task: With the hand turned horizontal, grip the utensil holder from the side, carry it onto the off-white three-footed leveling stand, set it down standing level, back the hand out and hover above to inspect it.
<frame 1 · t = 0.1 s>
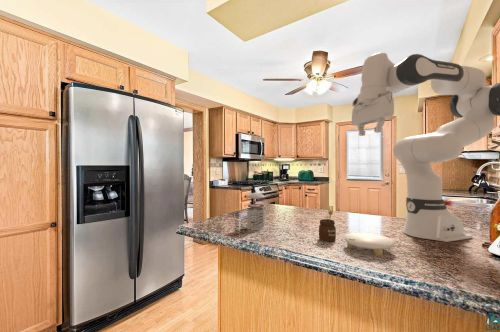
hand: (369, 134, 91), 39 cm above the countertop, fingers open, 8 cm apart
leveling stand: (368, 249, 78), on the countertop
utensil holder: (327, 240, 89), on the countertop
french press: (257, 227, 107), on the countertop
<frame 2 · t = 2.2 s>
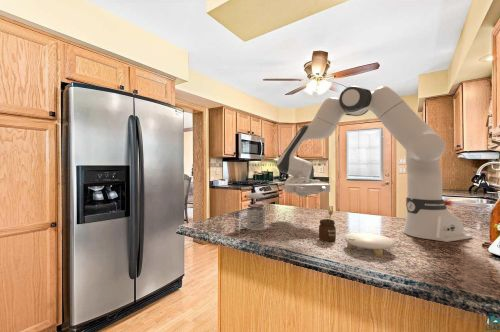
hand: (313, 189, 101), 17 cm above the countertop, fingers open, 8 cm apart
nothing on the countertop moved.
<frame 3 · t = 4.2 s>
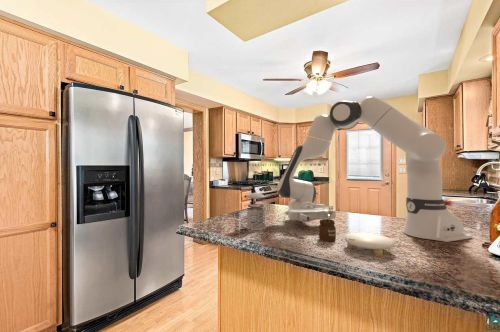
hand: (318, 217, 96), 6 cm above the countertop, fingers open, 8 cm apart
nothing on the countertop moved.
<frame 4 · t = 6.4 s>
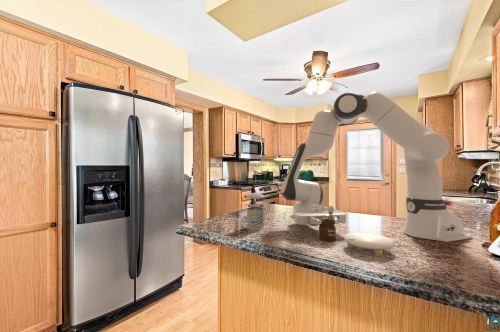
hand: (328, 222, 88), 7 cm above the countertop, fingers closed on utensil holder, 5 cm apart
utensil holder: (327, 240, 89), on the countertop, touching gripper
everything else where it was.
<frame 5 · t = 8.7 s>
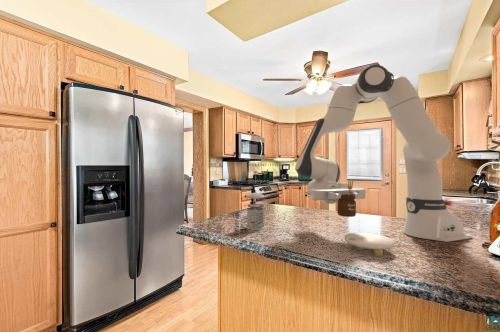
hand: (348, 196, 83), 17 cm above the countertop, fingers closed on utensil holder, 5 cm apart
utensil holder: (346, 215, 84), point 10 cm above the countertop, touching gripper
everything else where it was.
when the fingers open (11 cm above the countertop, at t = 11.0 s): utensil holder drops 1 cm, resting on leveling stand.
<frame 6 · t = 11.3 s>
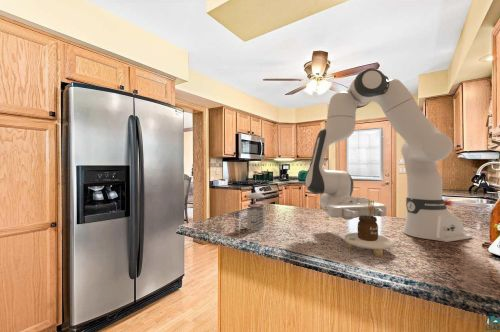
hand: (369, 214, 77), 11 cm above the countertop, fingers open, 8 cm apart
utensil holder: (367, 239, 78), point 3 cm above the countertop, touching leveling stand
everything else where it was.
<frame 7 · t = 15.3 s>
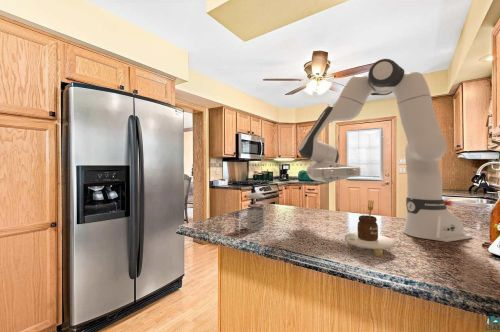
hand: (344, 172, 92), 24 cm above the countertop, fingers open, 8 cm apart
nothing on the countertop moved.
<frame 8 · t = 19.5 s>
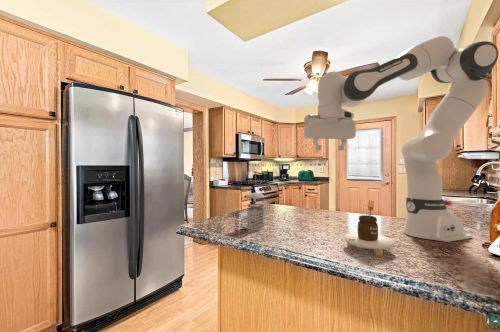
hand: (329, 150, 95), 33 cm above the countertop, fingers open, 8 cm apart
nothing on the countertop moved.
at the end: utensil holder inside the target area on the leveling stand (0.1 cm from its centre), point 3.3 cm above the leveling stand's base; utensil holder tilted 0°; the gripper is holding nothing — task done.
